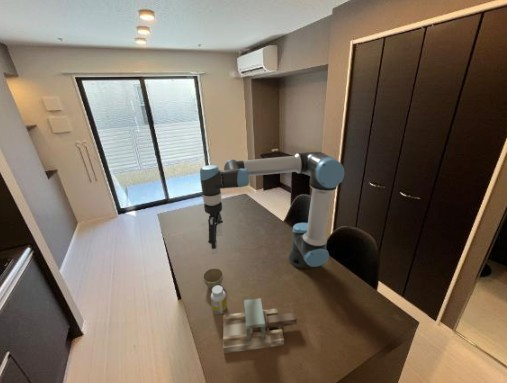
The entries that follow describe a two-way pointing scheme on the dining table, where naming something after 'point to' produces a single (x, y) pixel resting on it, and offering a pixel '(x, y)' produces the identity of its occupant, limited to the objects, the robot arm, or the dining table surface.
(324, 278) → the dining table surface
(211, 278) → the flower pot
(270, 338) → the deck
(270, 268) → the dining table surface
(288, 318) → the tan wooden bar
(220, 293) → the pill bottle
